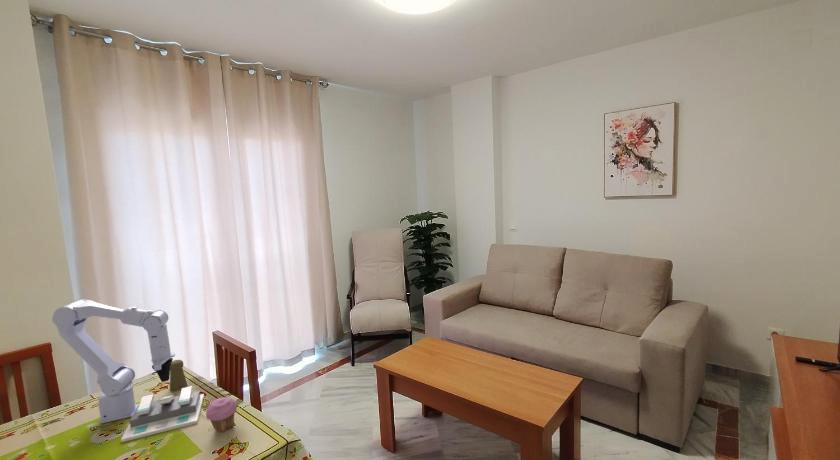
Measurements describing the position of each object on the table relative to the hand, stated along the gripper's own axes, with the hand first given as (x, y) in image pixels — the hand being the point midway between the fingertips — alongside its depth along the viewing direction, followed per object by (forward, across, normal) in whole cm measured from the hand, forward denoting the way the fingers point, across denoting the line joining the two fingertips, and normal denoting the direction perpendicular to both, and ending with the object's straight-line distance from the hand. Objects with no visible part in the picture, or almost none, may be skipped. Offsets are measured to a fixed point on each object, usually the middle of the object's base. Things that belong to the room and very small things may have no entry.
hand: (165, 380), depth 135 cm
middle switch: (+6, -5, 0) cm, 7 cm away
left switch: (+6, -5, +6) cm, 9 cm away
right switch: (+6, -5, -6) cm, 10 cm away
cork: (+11, +15, 0) cm, 18 cm away
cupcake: (+11, -23, -19) cm, 32 cm away
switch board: (+10, -7, 0) cm, 12 cm away
